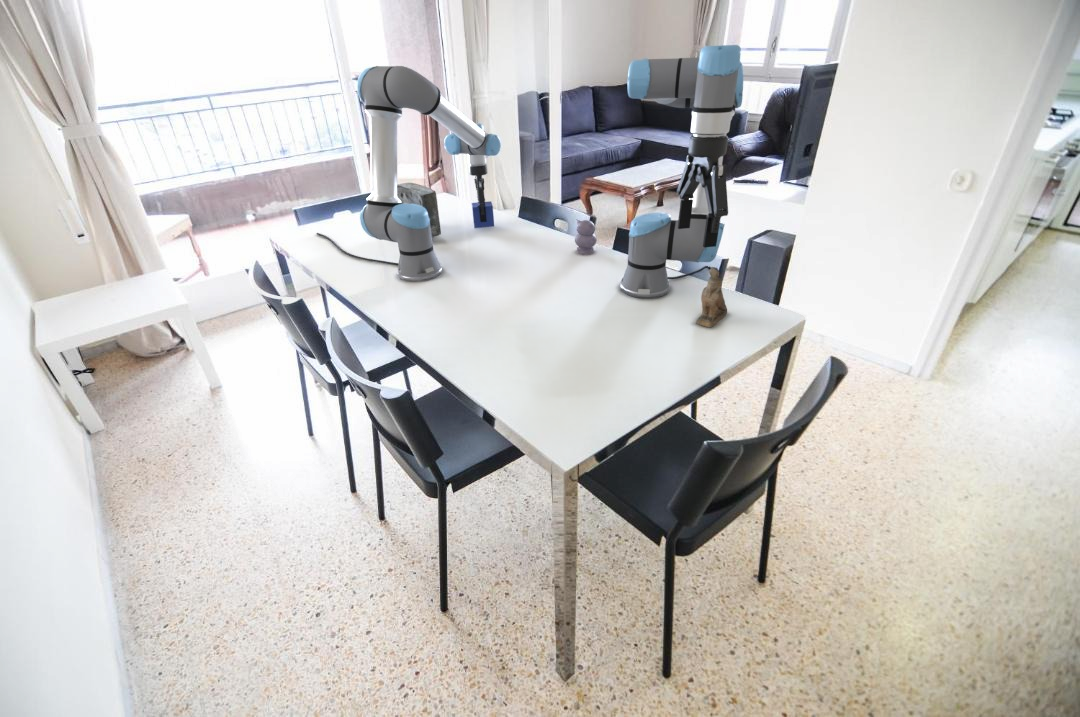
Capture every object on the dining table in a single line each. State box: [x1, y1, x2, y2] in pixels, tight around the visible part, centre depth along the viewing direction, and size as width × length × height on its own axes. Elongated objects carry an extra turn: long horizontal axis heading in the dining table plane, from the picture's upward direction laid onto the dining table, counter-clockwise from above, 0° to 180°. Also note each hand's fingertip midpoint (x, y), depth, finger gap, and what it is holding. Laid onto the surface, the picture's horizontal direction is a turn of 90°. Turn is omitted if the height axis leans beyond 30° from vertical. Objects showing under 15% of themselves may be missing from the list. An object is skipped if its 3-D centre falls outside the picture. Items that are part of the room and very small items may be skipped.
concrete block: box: [397, 182, 442, 239], centre depth 208 cm, size 27×9×20 cm, turn 36°
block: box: [471, 201, 495, 229], centre depth 217 cm, size 9×8×9 cm
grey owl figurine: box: [574, 219, 598, 256], centre depth 186 cm, size 8×8×12 cm
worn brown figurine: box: [695, 266, 728, 328], centre depth 135 cm, size 12×6×18 cm, turn 136°
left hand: (482, 218), depth 218 cm, fingers closed on block, 8 cm apart
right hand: (695, 237), depth 112 cm, fingers open, 13 cm apart
